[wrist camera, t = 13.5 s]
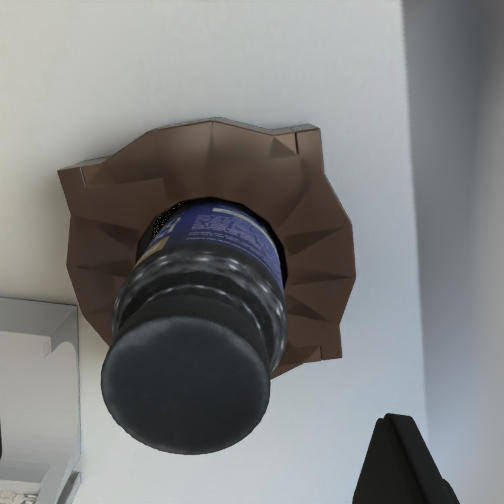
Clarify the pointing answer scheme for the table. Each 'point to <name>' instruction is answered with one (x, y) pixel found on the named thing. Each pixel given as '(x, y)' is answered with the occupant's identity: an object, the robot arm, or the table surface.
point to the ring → (224, 187)
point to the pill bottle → (198, 331)
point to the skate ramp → (39, 400)
